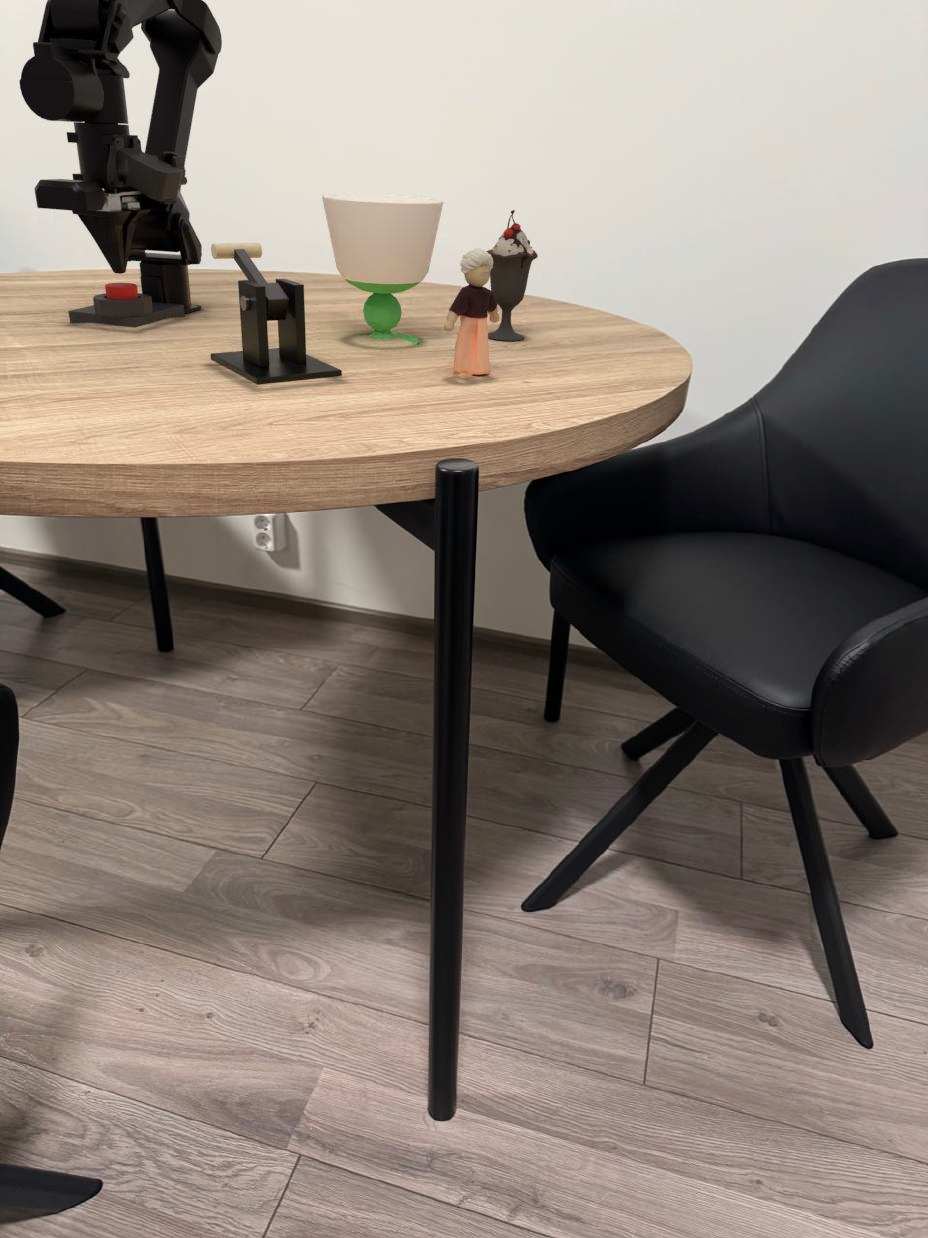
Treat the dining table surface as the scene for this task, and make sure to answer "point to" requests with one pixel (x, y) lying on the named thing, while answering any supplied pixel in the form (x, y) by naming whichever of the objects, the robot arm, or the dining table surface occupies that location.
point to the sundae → (510, 276)
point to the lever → (254, 275)
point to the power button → (121, 291)
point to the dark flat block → (125, 311)
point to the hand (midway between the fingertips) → (119, 272)
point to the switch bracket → (256, 355)
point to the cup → (382, 249)
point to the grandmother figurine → (473, 315)
